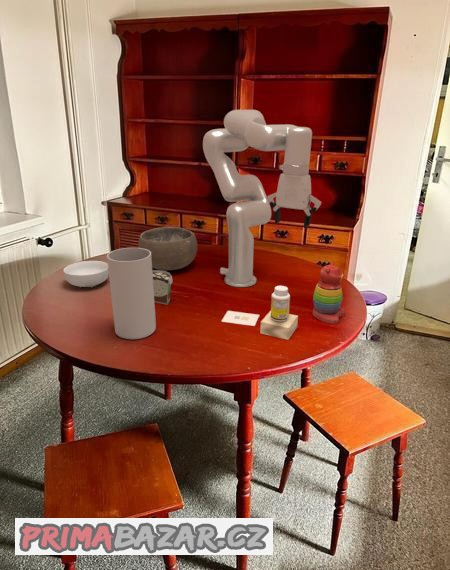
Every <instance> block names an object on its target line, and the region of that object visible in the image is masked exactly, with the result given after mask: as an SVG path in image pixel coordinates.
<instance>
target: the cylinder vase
mask: <svg viewBox="0 0 450 570" xmlns="http://www.w3.org/2000/svg"><path fill="white" fill-rule="evenodd" d="M106 259H107V260H106V261H107V264H108V270H109V276H108V278H109V287H110V288H109V289H110V296H111V306H112V315H113V316H112V317H113V325H114V332H115V334H116V336H118V337H119V338H122V339H126V340H139V339H145V338H146V337H149V336H150V335H152V334H153V333H154V332H155V331H156V329H157V328H156V327H157V325H156V324H157V322H156V308H155V307H156V306H155V302H154V289H153V274H152V271H153V268H152V258H151V252H150V251H149V250H147V249H143V248H139V247H125V248H124V247H122V248H118V249H115V250H112V251H110V252H108V253H107V255H106Z"/></svg>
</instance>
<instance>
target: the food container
mask: <svg viewBox="0 0 450 570" xmlns="http://www.w3.org/2000/svg"><path fill="white" fill-rule="evenodd" d="M152 274H153V289H154V303H157V304H162V305H169V304H170V303H171V286H172V283H173V277H172V275H171V273H170V272H169V271H164V270H158V269H155V270H154V269H153V270H152Z"/></svg>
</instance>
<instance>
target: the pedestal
mask: <svg viewBox="0 0 450 570" xmlns="http://www.w3.org/2000/svg"><path fill="white" fill-rule="evenodd" d="M298 320H299V315H296V314H291V313H289V318H288V319H287V320H286V321H283V322H278V321H274V320H273V319H272V318H271V310H269V312H268V313H267V314H266V315H265V316H264V318H263V319H261V321H260V331H259V332H260V335H261V334H262V335H266V336H270V337H274V338H277V339H283V340H287V341H289V340H290V339H291V336H292V335H293V334H294V332H295V331H296V330H297V328H298V322H299V321H298Z"/></svg>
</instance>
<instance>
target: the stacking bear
mask: <svg viewBox="0 0 450 570" xmlns="http://www.w3.org/2000/svg"><path fill="white" fill-rule="evenodd" d="M319 274H320V275H319V277H320V280H319V281H318V283H317V284H316V286H315V288H314V291H313V297H312V298H313V299H312V301H313V310H312V314H311V315H313V316H314V318H316V319H318V320H319V321H320V322H323V323H327V324H332V325H335V324H338V323H339V322H340V319H339V318H340V317H343V316H345V315H346V310H345V309H344V308H342V307H341V306H342V303H343V297H344V296H343V290H342V289H343V288H342V284H341V283H340V282H342V281H343V279H344V278H345V277H344V276H345V275H344V273H343V272H342V270H341V269H340V268H339V267H338V266H337V265H335V264H334V263H333V262H332V263H330V264H327V265H324V266H322V268H321V269H320V273H319Z"/></svg>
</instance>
